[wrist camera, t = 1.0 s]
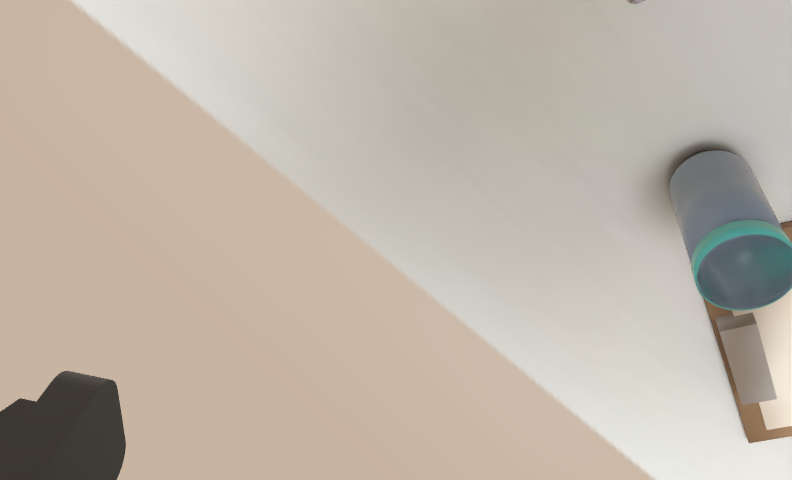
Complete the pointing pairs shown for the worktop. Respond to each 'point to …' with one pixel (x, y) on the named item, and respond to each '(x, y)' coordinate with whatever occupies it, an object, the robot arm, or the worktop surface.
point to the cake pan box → (634, 1)
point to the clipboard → (759, 363)
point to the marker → (730, 232)
